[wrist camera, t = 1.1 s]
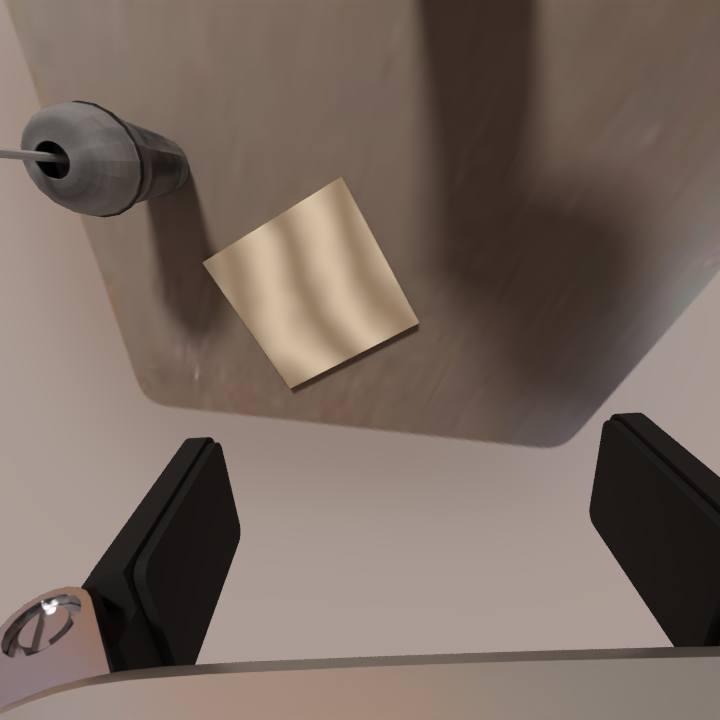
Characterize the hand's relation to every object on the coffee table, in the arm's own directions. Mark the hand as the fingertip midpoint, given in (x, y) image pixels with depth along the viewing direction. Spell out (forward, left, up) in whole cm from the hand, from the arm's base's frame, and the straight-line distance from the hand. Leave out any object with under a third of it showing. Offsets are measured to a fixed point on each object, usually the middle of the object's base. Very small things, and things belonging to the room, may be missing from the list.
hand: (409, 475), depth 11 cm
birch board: (+8, +1, -35) cm, 36 cm away
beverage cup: (+14, -16, -35) cm, 41 cm away
